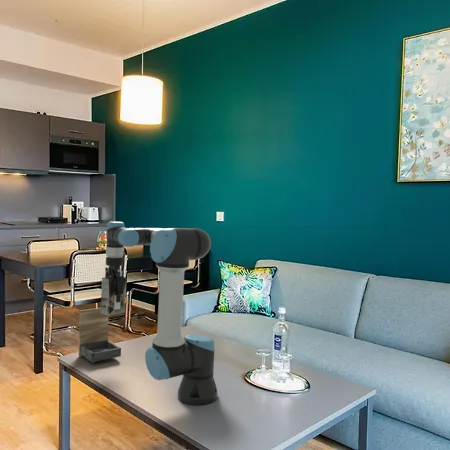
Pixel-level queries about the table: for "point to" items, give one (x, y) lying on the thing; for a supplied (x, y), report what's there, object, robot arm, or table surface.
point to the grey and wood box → (95, 336)
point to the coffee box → (111, 296)
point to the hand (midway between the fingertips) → (113, 307)
